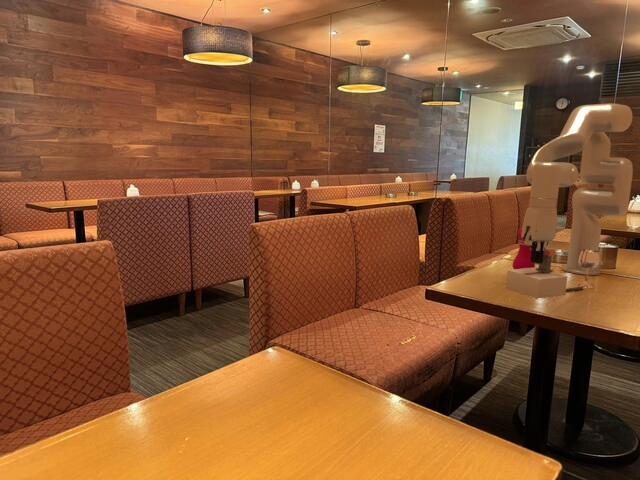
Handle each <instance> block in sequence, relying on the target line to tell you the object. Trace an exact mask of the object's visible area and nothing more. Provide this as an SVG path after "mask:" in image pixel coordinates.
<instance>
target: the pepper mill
mask: <svg viewBox="0 0 640 480" xmlns="http://www.w3.org/2000/svg"><path fill="white" fill-rule="evenodd" d="M522 227H523V226H521V227H520V228H519V229H518V231H517V236H518V238H519V239H518V244H519V245H518V246H519V248H518V252H517V254H516V255H515V258H514V259H513V261H512V266H511V267H512V268H513V269H523V268H533V267H535V268H536V263H533V262H531V261H530V260H531V251H532V250H531V249H530V246H529V245H526V244H524V242H525V239H522V237H521V234H522Z"/></svg>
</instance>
